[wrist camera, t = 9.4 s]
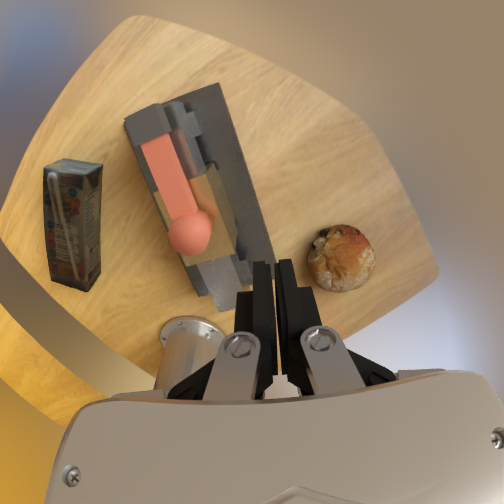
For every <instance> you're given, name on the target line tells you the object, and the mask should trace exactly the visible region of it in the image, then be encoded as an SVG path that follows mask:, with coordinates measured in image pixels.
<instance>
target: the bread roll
mask: <svg viewBox="0 0 504 504" xmlns="http://www.w3.org/2000/svg"><path fill="white" fill-rule="evenodd" d="M375 262H376V256H375V253H374V250H373V248H372V247H371V245H370V243H369V241H368V240H367V239H366V238H365V236H364V235H363V234H362V233H361V232H360V230H358V229H357V228H355V227H351V226H349V225H337V226H334V227H331V228H329V229H322V230H321V231H320V235H319V236H318V237H317V238H316V240H315V241H314V242H313V244H312V249H311V251H310V252H309V257H308V262H307V263H308V268H309V272H310V274H311V277H312V279H313V280H314V282H315V283H316V284H317V285H318V286H319V287H320V288H322V289H324V290H327V291H332V292H338V293H340V292H347V291H351V290H354V289H358V288H360V287H361V286H363V285H364V284H365V283H366V282H367V281H368V280H369V279H370V277H371V275H372V273H373V270H374V267H375Z"/></svg>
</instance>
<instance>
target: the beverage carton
mask: <svg viewBox="0 0 504 504" xmlns="http://www.w3.org/2000/svg"><path fill="white" fill-rule="evenodd" d="M102 170H103V164H97V163H90V162H84V161H78V160H72V159H62V160H58V161H56V162H55V163H53V164H50V165H47V166H45V167H44V174H43V212H44V229H45V241H46V250H47V258H48V265H49V271H50V276H51V281H53V282H57V283H60V284H63V285H65V286H68V287H71V288H75V289H78V290H80V291H84V292H89V290H90V289H91V287H92V286H93V284H94V283H95V281H96V280H97V278H98V277H99V275H100V274H101V256H100V212H101V190H102Z"/></svg>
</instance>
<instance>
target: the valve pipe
mask: <svg viewBox="0 0 504 504" xmlns="http://www.w3.org/2000/svg"><path fill="white" fill-rule="evenodd" d="M162 106H163V109H164V111H165V114H166V117H167V119H168V122H169V125H170V127H171V130H172V131H171V132H168V133H169V136H170V139H171V141H172V144H173V147H174V149H175V152H176V154H177V157H178V159H179V162H180V165H181V167H182V170H183V172H184V175H185V177H186V180H187V182H188V185H189V187H190V190H191V192H192V195H193V197H194V200H195V202H196V204H197V207H198V209H200V210H202V211H204V212H205V213H206V214H207V215H208V216H209V217H210V219H211V222H212V232H211V236H210V239H209V242H208V245H207V247H206V249H205V250H204V251H203V252H202V253H200V254H198V255H195V256H186V255H182V254H180V253H178V252H177V253H178V255H179V257H180V259H181V261H182V264H183V266H184V268H185V270H186V272H187V274H188V276H189V278H190V280H191V282H192V284H193V286H194V288H195V290H196V292H197V294H198V296H199V297H200V296H205V295H209V294H210V295H211V297H212V299H213V301H214V303H215V305H216V307H217V309H218V311H219V312H223V311H228V310H232V309H236V297H237V292H242V291H250V286H249V285H251V284H253V262H254V261H265V264H270V266H271V276H272V279H275V272H274V263H277V262H276V258H275V255H274V252H273V248H272V245H271V242H270V238H269V235H268V232H267V229H266V225H265V222H264V219H263V216H262V212H261V209H260V206H259V203H258V199H257V196H256V193H255V190H254V187H253V184H252V180H251V177H250V174H249V171H248V168H247V165H246V162H245V159H244V155H243V152H242V149H241V146H240V143H239V140H238V137H237V134H236V131H235V128H234V125H233V122H232V119H231V116H230V113H229V110H228V107H227V104H226V101H225V98H224V95H223V92H222V89H221V86H220V83H216V84H213V85H210V86H207V87H204V88H201V89H198V90H196V91H193V92H190V93H188V94H185V95H182V96H180V97H177V98H175V99H172V100H170V101H168V102H165V103H163V104H162ZM123 123H124V126H125V128H126V131H127V134H128V137H129V139H130V142H131V145H132V147H133V150H134V153H135V155H136V158H137V160H138V163H139V165H140V168H141V170H142V173H143V175H144V178H145V180H146V183H147V185H148V188H149V190H150V192H151V195H152V197H153V199H154V202H155V204H156V206H157V209H158V211H159V213H160V216H161V218H162V220H163V222H164V225H165V227H166V229H167V231H168V233H169V229H170V227H171V226H172V224H173V221H172V219H171V217H170V215H169V212H168V210H167V208H166V206H165V203H164V201H163V199H162V196H161V194H160V192H159V190H158V187H157V185H156V182H155V180H154V178H153V175H152V173H151V170H150V168H149V166H148V163H147V161H146V158H145V156H144V153H143V151H142V148H141V146H140V145H138V146H136V147H135V146H134V143H133V141H132V138H131V136H130V133H129V130H128V128H127V125H126V122H125V121H124V122H123Z"/></svg>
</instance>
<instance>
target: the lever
mask: <svg viewBox="0 0 504 504" xmlns="http://www.w3.org/2000/svg"><path fill="white" fill-rule="evenodd" d="M124 120H125V122H126V125H127V128H128V130H129V133H130V136H131V138H132V141H133V143H134V146H135V147H136V146H138V145H140V146H141V148H142V151H143V153H144V156H145V158H146V161H147V163H148V166H149V168H150V170H151V173H152V175H153V178H154V180H155V182H156V185H157V187H158V190H159V192H160V194H161V196H162V199H163V201H164V203H165V206H166V208H167V210H168V212H169V215H170V217H171V219H172V221H173V224H172V226H171V227H170V229H169V233H168V238H169V242H170V244H171V246H172V247H173V248H174V250H176V251H177V252H178V253H180V254H182V255H186V256H195V255H198V254H200V253H202V252H203V251H204V250H205V249H206V247H207V245H208V242H209V239H210V236H211V232H212V222H211V219H210V217H209V216H208V215H207V214H206V213H205V212H204V211H202V210H200V209H198V207H197V204H196V202H195V200H194V197H193V195H192V192H191V190H190V187H189V185H188V182H187V180H186V177H185V175H184V172H183V170H182V167H181V165H180V162H179V159H178V157H177V154H176V152H175V149H174V147H173V144H172V141H171V139H170V136H169V133H168V132H171V131H172V130H171V127H170V125H169V122H168V119H167V117H166V114H165V111H164V109H163V106H162V104H152V105H150V106H148V107H146V108H144V109H142V110H140V111H138V112H136V113H134V114H132V115H130V116H128V117H126V118H124Z"/></svg>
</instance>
